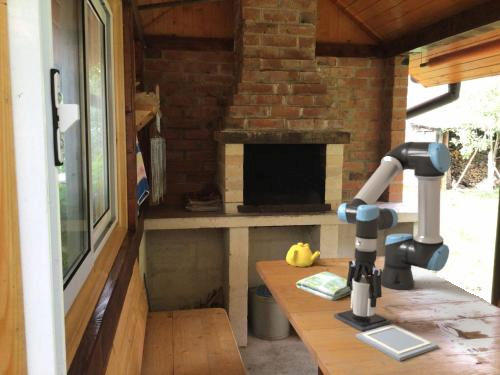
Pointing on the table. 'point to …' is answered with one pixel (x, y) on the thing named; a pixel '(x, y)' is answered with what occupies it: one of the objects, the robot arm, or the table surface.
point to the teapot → (301, 255)
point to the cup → (360, 297)
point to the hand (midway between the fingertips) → (362, 311)
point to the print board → (396, 341)
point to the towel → (325, 285)
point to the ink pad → (362, 320)
